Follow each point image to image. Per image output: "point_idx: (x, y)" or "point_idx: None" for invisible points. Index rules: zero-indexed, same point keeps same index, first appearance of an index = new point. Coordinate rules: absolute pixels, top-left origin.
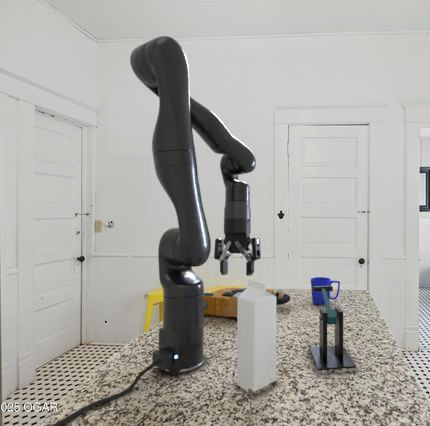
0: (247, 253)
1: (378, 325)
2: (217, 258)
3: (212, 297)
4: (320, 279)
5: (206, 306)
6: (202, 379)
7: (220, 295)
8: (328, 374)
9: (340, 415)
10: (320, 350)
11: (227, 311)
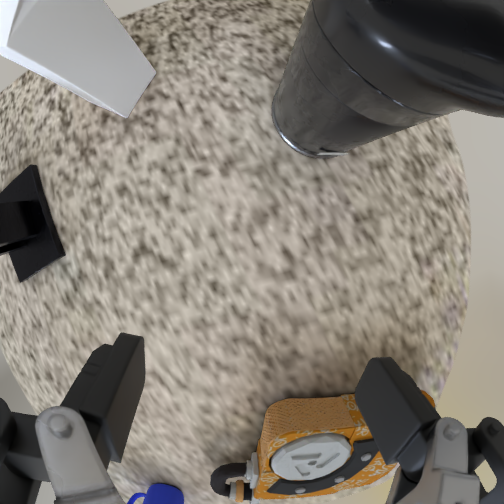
0: (58, 499)
1: (27, 393)
2: (476, 430)
3: None
4: None
5: None
6: (237, 70)
7: None
8: None
9: (18, 84)
10: (29, 225)
11: (348, 403)
